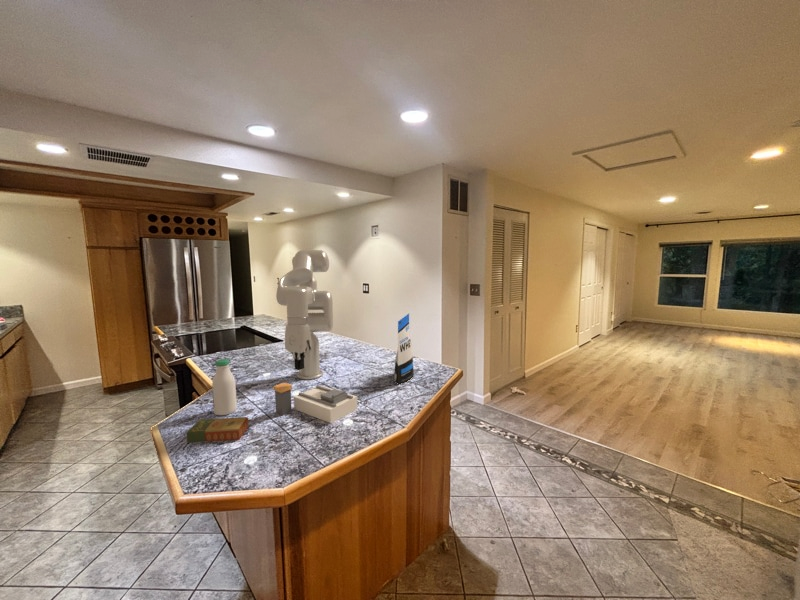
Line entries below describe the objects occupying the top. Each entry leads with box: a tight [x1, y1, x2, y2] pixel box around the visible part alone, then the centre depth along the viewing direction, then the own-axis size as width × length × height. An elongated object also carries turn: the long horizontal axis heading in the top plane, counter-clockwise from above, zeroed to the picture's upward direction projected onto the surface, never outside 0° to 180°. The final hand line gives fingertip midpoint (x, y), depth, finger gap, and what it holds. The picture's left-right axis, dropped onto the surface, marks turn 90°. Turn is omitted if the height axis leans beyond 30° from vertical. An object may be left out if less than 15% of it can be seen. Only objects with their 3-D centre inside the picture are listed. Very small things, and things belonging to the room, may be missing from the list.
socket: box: [293, 384, 358, 424], centre depth 127 cm, size 20×14×6 cm
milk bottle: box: [211, 358, 238, 416], centre depth 124 cm, size 8×8×20 cm
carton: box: [186, 416, 249, 443], centre depth 108 cm, size 8×16×4 cm, turn 96°
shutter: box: [321, 388, 348, 404], centre depth 123 cm, size 7×7×3 cm
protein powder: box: [393, 313, 415, 386], centre depth 161 cm, size 10×24×30 cm, turn 167°
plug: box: [273, 382, 293, 417], centre depth 123 cm, size 5×5×10 cm
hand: (299, 368), depth 124 cm, fingers closed
